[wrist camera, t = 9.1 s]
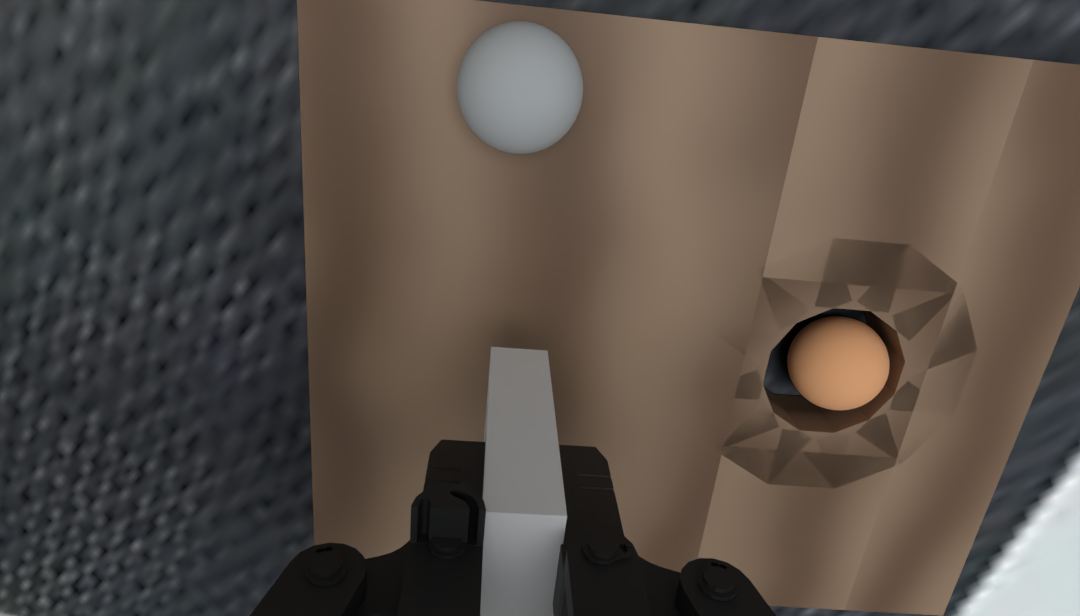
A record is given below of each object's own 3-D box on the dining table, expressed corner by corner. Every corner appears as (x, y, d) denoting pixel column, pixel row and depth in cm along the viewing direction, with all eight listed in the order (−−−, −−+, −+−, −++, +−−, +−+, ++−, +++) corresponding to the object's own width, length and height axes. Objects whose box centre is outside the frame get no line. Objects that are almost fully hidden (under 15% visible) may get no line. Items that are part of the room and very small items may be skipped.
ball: (914, 411, 22) (866, 391, 25) (902, 313, 22) (854, 305, 25) (816, 427, 22) (780, 406, 25) (803, 329, 22) (767, 320, 25)
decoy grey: (459, 138, 19) (447, 157, 16) (465, 15, 18) (454, 13, 15) (571, 148, 20) (580, 170, 17) (584, 28, 18) (596, 28, 15)
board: (332, 533, 28) (315, 579, 25) (322, -14, 20) (296, -20, 18) (909, 568, 29) (942, 615, 27) (1098, 69, 22) (1167, 74, 19)
